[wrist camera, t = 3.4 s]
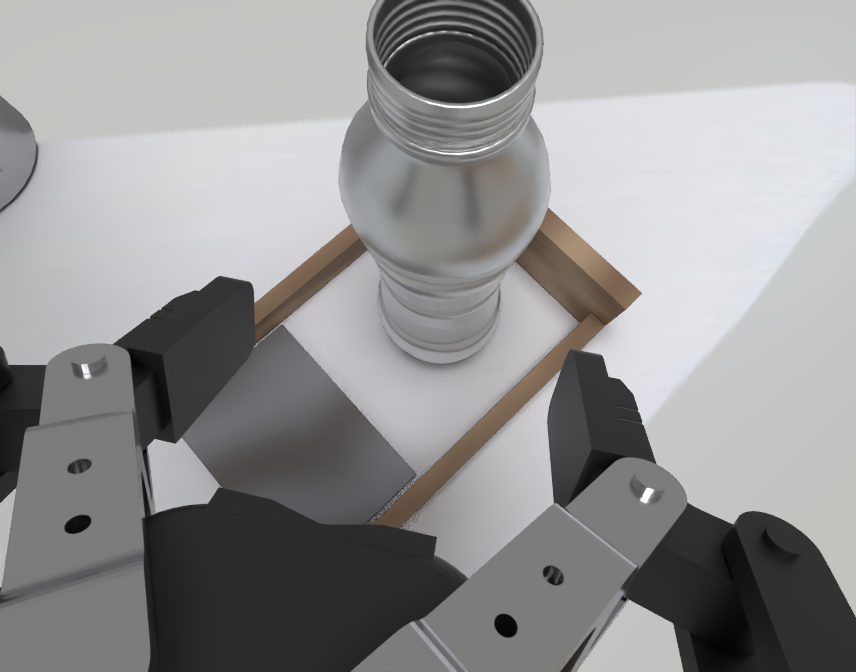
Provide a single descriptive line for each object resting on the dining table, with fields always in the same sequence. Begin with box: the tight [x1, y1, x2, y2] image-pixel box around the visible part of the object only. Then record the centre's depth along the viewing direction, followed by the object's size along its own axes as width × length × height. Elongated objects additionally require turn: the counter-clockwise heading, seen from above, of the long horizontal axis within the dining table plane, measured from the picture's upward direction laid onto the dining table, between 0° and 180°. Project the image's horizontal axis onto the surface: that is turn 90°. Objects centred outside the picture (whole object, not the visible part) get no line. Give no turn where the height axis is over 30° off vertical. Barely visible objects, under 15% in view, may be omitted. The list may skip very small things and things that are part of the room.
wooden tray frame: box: [182, 208, 642, 528], centre depth 26 cm, size 14×22×5 cm, turn 133°
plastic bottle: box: [338, 0, 551, 364], centre depth 20 cm, size 6×7×20 cm
